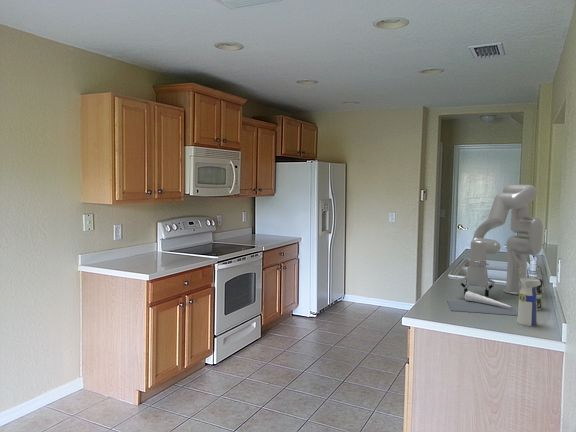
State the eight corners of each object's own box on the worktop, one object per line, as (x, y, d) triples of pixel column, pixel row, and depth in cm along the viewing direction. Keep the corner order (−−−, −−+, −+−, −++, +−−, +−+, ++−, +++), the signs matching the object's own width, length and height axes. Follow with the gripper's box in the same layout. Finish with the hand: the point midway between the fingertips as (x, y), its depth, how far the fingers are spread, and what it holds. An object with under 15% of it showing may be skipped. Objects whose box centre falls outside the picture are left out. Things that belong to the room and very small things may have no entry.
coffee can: (539, 306, 227) (541, 278, 226) (542, 311, 218) (544, 282, 217) (516, 303, 231) (518, 276, 230) (518, 309, 222) (520, 280, 221)
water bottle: (528, 327, 194) (531, 268, 192) (511, 321, 202) (514, 265, 200) (542, 325, 197) (545, 267, 195) (525, 319, 205) (528, 263, 203)
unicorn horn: (507, 309, 216) (507, 299, 216) (463, 300, 236) (463, 291, 236) (513, 308, 219) (513, 298, 219) (469, 299, 239) (469, 290, 239)
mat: (511, 305, 227) (511, 305, 227) (520, 316, 210) (520, 315, 210) (447, 301, 234) (447, 300, 234) (451, 310, 217) (451, 310, 217)
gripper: (494, 263, 238) (492, 296, 240) (458, 261, 243) (457, 293, 244) (497, 266, 231) (495, 299, 232) (460, 264, 235) (459, 297, 237)
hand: (476, 296), depth 238 cm, fingers open, 9 cm apart
